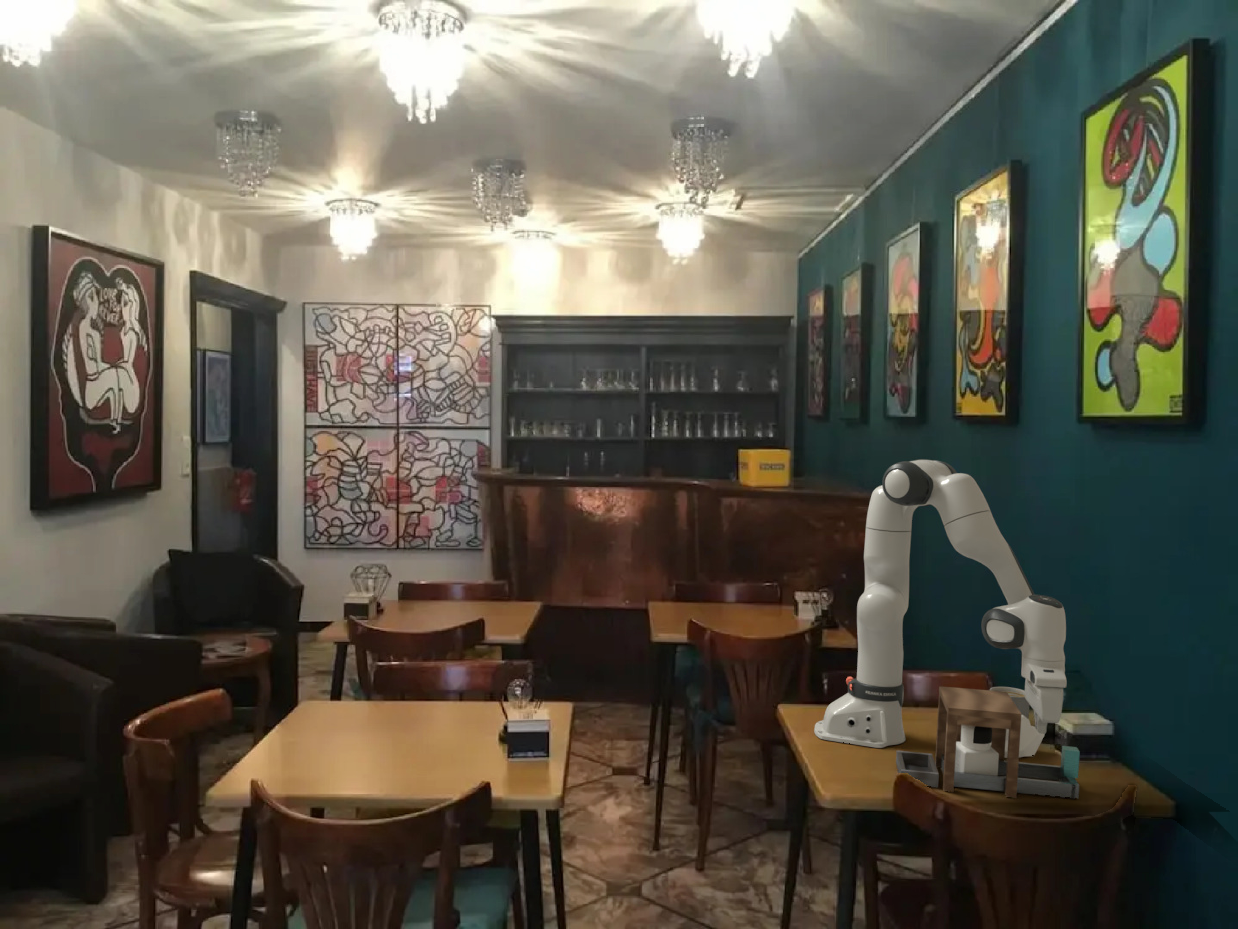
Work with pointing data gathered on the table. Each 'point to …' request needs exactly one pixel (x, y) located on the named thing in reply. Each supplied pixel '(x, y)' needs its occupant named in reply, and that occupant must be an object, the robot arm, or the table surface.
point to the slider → (1031, 770)
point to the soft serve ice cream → (1026, 739)
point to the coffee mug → (1016, 698)
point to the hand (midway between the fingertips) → (1040, 731)
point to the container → (976, 751)
